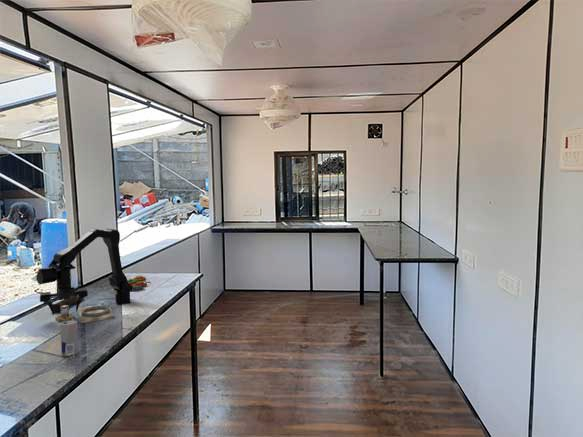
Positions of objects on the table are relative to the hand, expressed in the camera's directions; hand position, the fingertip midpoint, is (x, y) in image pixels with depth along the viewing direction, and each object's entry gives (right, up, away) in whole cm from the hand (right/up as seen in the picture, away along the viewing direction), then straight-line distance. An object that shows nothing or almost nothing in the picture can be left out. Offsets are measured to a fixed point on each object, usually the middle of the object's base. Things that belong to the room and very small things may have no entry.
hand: (65, 312), depth 178 cm
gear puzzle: (+8, +2, +60) cm, 61 cm away
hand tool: (-10, -1, +19) cm, 21 cm away
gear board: (+10, -2, +7) cm, 13 cm away
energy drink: (+22, -7, -35) cm, 42 cm away
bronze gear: (0, -3, 0) cm, 3 cm away
